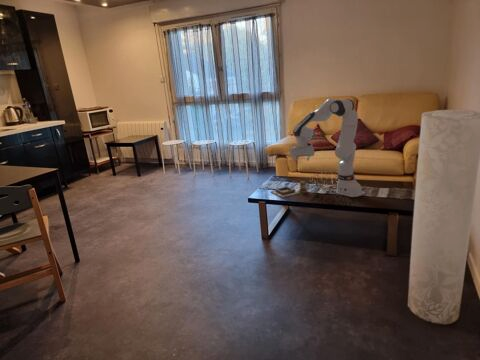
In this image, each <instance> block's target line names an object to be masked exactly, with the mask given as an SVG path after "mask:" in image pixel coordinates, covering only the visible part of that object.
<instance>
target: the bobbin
mask: <svg viewBox="0 0 480 360" xmlns="http://www.w3.org/2000/svg"><path fill="white" fill-rule="evenodd" d="M299 187H300V188H299V190H298V191H299V192H300V194H301V193H303V194H304V193H307V191H308V189H307V182H306V181H305V180H304V181H303V180H302V181H299Z"/></svg>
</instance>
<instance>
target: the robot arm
mask: <svg viewBox="0 0 480 360" xmlns="http://www.w3.org/2000/svg"><path fill="white" fill-rule="evenodd" d="M333 114H334V115H335V116H338V117H341V118H342V121H341V127H340V128H341V129H340V135H339V138H338V141H337V144H336V147H335V150H334V155H335V157H336V158H338V159H339V161H338V164H337V165H338V166H337V169H338V171H337V185H336V190H335V193H336V194H338V195H342V196H347V197H350V198H354V197H355V198H356V197H361V196H364V195H365V191H363V190H362V186H361V184H360V183H359V182H358V181H357V180H356V175H355V174H354V161H355V156H356V154H355V153H356V150H357V145H356V143H355V142H354V140H355V138H356V135H357V128H358V122H359V121H358V120H359V114H358V112H357V111H356V110H355V103H354V101H353V100H352V99H349V98H347V99H346V98H344V99H343V98H340V99H334V98H333V97H331V98H328V99H326V100H325V101H324V102H323V103H322V104H321V105H320V106H319V108H318V109H316V110H314V111H310V113H308V114H307V115H306V116H305V117H304V118H303V119H302V120H301V121H300V122H298V123H297V124H296V125H294V127H293V129H292V133H293V135H294V136H295V137H296V146H291V147H290V148H289V156H290V157H291V158H294V159H295V162H298V158H300V157H306V161H309V160H310V158H311V157H314V156H315V148H314V147H313V143H310V142H309V141H311V140H313V139H314V137H315V133H316V132H315V130H314V129H313V128H311V127H309V126H308V124H310V123H311V122H312V123H313V122H325V121H328V120H329V119H330V118H331V117H332V115H333Z"/></svg>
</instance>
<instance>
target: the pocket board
mask: <svg viewBox="0 0 480 360" xmlns="http://www.w3.org/2000/svg"><path fill="white" fill-rule="evenodd" d="M270 193H271V194H273V195H275V196H277V197H279V198H281V199H284V198H285V199H286V198H287V197H291V196H297V195H299V194H300V195H301V192H299V190H296V189H295V188H292V187H290V186H288V185H287V186H283V187H279V188H275V189H274V190H272V191H270Z"/></svg>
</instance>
